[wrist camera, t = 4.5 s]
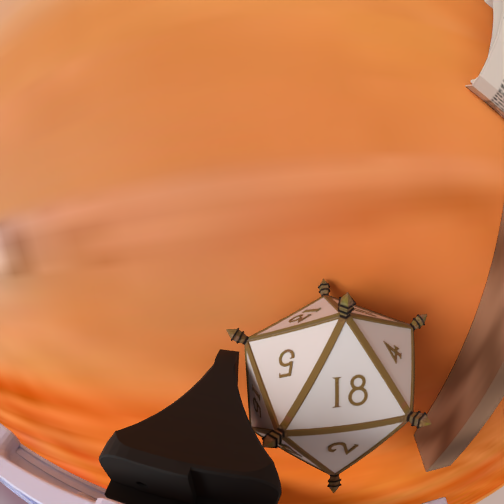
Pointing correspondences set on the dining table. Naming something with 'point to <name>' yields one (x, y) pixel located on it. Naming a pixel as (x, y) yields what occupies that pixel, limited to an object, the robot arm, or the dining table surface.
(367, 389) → the game die
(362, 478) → the dining table surface
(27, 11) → the dining table surface
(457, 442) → the batten
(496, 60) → the newspaper
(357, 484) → the dining table surface
